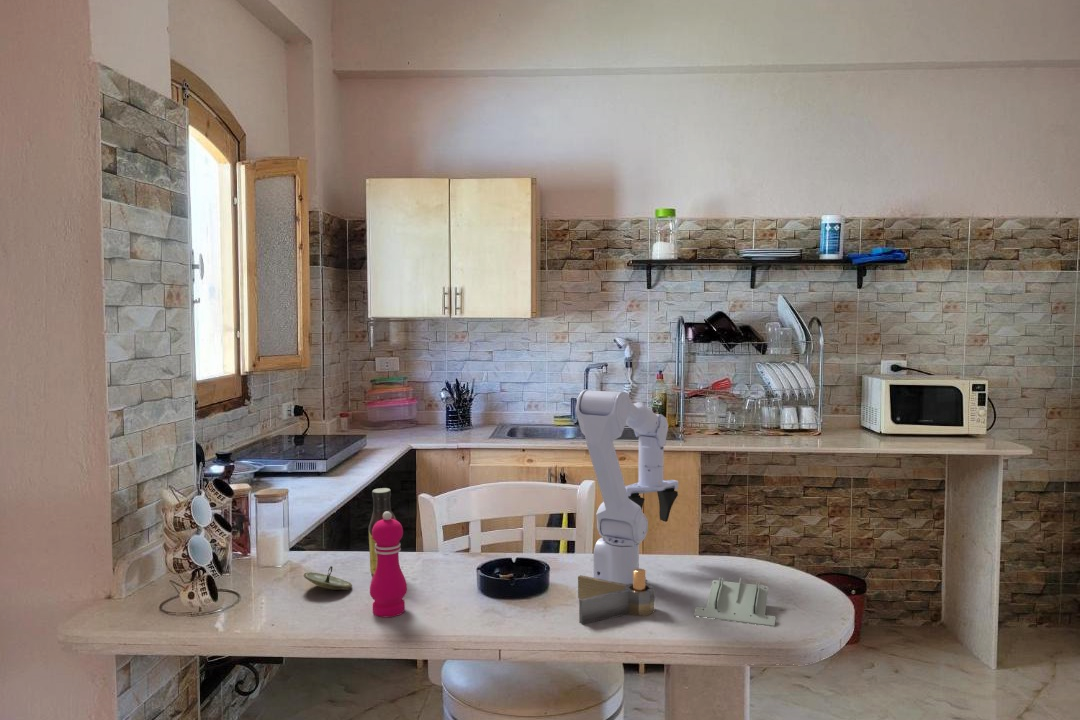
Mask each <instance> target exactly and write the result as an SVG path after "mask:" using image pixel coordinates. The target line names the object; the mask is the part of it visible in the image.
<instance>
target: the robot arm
mask: <svg viewBox="0 0 1080 720" xmlns="http://www.w3.org/2000/svg"><path fill="white" fill-rule="evenodd" d="M575 415H576V418H577V421H578V425H579V428H580V431H581V434H583V435H584V436H585V442H586V448H587V450H588V454H589V456H590V460H591V463H592V466H593V467H592V468H593V470H594V474H595V477H596V481H597V483H598V487H599V490H600V493H601V497H602V502H601V503H600V504H599V506H598V509H597V512H596V513H595V515H596V520H597V521H596V527H597V532H598V533H599V536H600V538H598V540H597V541H596V543H595V545H594V547H593V548H594V549H593V578H597V579H602V580H607V581H612V582H617V583H622V584H627V585H628V584H632V583H633V570H634V569H640V543H642V542H643V541H644V540H645V538H646V537H647V533H648V528H649V521H648V518H647V517H646V516H647V515H645V513H643V507H644V502H645V498H643V497H641V494H646V493H647V494H648V493H654V492H655V493H656V494H657V497H658V505H659V507H658V508H659V511H658V512H659V513H658V514H659V520H660V521H662V522H668V521H669V517H670V512H671V510H672V508H673V505H674V503H675V500H676V499H677V498H678V496H679V492H678V491H677V490H679V480H675V479H665V480H664V456H665V455H664V454H665V453H664V447H665V446H666V444H667V435H668V430H669V424H668V420H667V417H666V416H664V415H663V414H661V413H660V414H659V413H655V412H654V411H653V409H651V408H648V407H646V405H645V403H644V402H642V401H640V402H639V401H636V402H634V403H633V402H632V400H631V398H630V394H628V393H627V392H625V391H618V392H617V391H604V390H590V389H583V390H581V392H580V393H579V394H578V397H577V399H576V406H575ZM626 426H627V427H629V428H630V429H632V430H633V433H634V435H635V437H636V438H638V482H635V483H632V484H629V485H626V484H625V480H624V477H623V473H622V470H621V466H620V463H619V458H618V456H617V455H618V454H617V452H616V449H615V448H616V447H615V445H614V441H615V440H617V439H618V438H621V437H622V435H623V432H624V429H625V427H626ZM646 579H647V577H646V576H645V580H646Z"/></svg>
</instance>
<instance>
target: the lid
mask: <svg viewBox="0 0 1080 720" xmlns="http://www.w3.org/2000/svg"><path fill="white" fill-rule="evenodd" d="M332 572H333V566H332V565H331V566H330V567H329V568H328V573H327V574H323V573H318V572H305V573H303V577H304V579H306V580H307V581H309V582H310V583H312V584H313V585H316V586H317V587H319V588H321V589H326V590H327V589H328V590H333V591H334V590H335V591H340V590H347V591H348V590H351V589H352V588H353V584H352V583H351V582H349V581H346V580H344V579H341V578H338V577H335V576H332V575H331V573H332Z"/></svg>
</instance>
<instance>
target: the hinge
mask: <svg viewBox="0 0 1080 720" xmlns="http://www.w3.org/2000/svg"><path fill="white" fill-rule="evenodd" d="M577 598H578V602H579V603H578V606H579V608H578V610H579V613H578V615H579V619H578V621H579V624H581V625H586V624H589V623H593V622H598V621H603V620H607V619H611V618H617V617H620V616H625V615H633V616H638V617H640V616H641V617H642V616H649V615H651V614H652V613H654V612H655V588H654V586H652V585H651V584H648V583H645V591H640V592H638V591H634V590H633V583H632V584H628V585H627V584H622V583H617V582H612V581H607V580H602V579H597V578H594V577H591V576H586V575H581V574H580V575H578V577H577ZM653 611H654V612H653Z"/></svg>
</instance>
